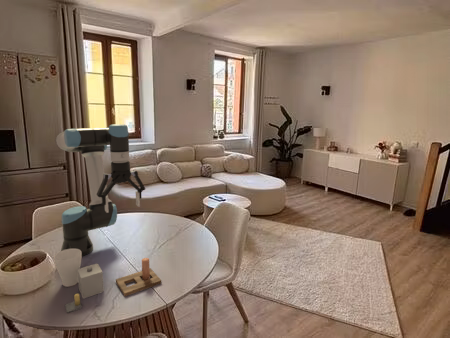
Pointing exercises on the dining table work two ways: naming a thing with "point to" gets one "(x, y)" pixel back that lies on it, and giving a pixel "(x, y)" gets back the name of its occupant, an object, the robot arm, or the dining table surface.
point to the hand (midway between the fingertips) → (122, 208)
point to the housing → (90, 280)
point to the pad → (74, 304)
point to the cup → (68, 265)
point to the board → (137, 282)
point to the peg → (145, 269)
